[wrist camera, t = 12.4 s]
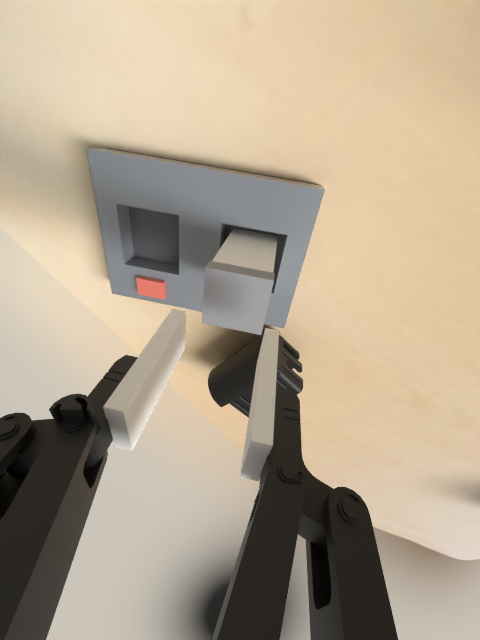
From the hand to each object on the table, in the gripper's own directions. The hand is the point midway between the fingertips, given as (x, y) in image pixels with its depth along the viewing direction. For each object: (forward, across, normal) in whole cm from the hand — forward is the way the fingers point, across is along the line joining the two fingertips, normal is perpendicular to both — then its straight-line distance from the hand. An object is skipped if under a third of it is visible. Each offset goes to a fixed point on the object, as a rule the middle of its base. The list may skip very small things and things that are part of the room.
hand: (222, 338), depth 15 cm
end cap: (+15, +3, -14) cm, 21 cm away
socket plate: (+15, -5, 0) cm, 16 cm away
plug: (+14, 0, 0) cm, 14 cm away
